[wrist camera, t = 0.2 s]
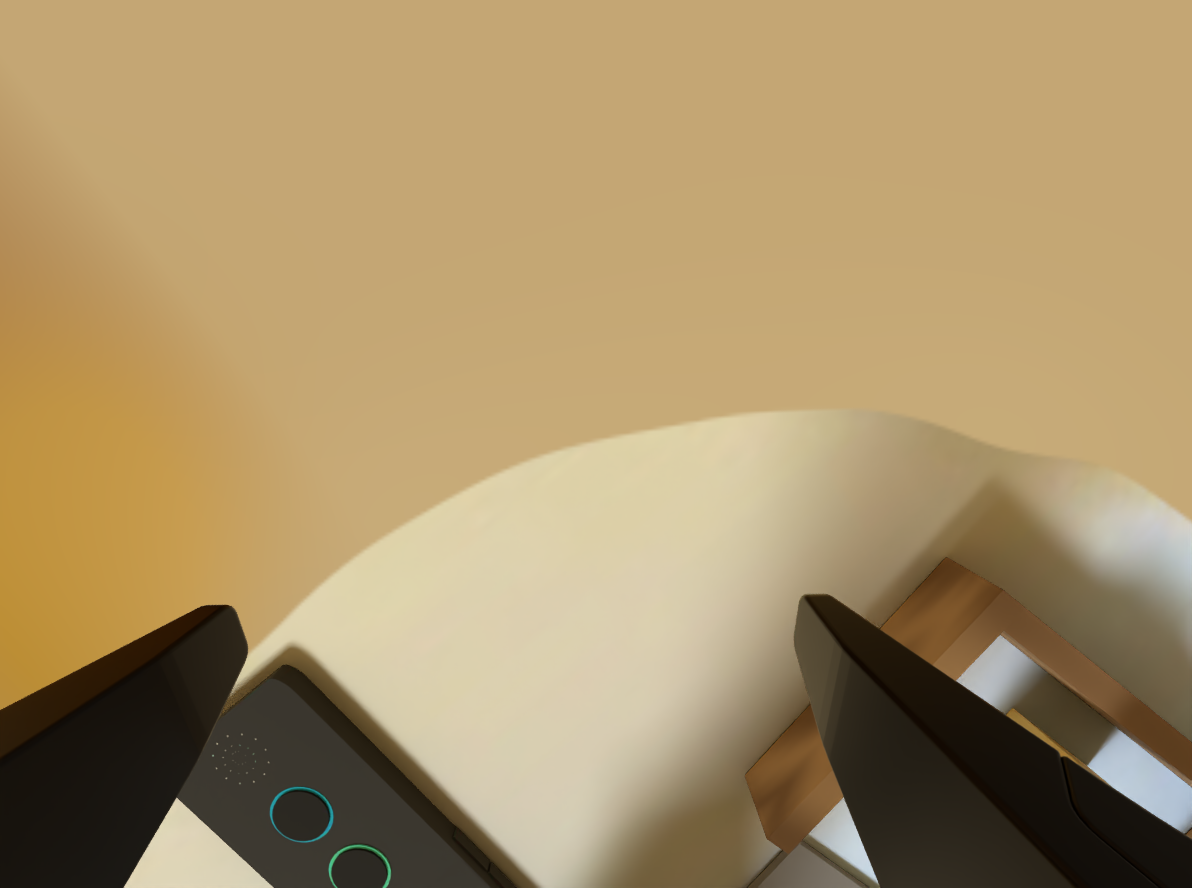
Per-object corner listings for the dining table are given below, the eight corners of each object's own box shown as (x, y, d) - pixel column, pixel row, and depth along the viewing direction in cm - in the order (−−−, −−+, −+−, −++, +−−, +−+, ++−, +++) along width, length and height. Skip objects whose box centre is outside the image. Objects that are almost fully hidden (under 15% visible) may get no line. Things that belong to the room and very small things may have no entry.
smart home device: (275, 672, 24) (566, 962, 27) (296, 651, 26) (568, 925, 28) (146, 779, 25) (440, 1050, 28) (175, 751, 27) (449, 1009, 29)
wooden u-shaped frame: (1044, 990, 28) (1106, 1078, 25) (744, 775, 26) (766, 839, 23) (1251, 802, 27) (1349, 869, 23) (946, 557, 25) (1003, 590, 21)
